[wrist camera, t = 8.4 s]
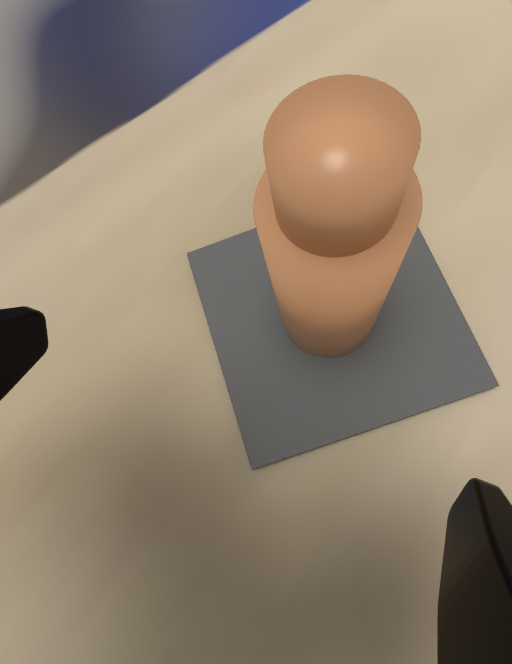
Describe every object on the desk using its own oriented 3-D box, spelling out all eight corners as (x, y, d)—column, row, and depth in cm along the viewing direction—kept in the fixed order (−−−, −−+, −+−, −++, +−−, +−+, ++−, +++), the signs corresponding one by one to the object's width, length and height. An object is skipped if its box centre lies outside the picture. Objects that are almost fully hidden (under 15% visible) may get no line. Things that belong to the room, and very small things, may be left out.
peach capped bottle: (370, 363, 20) (446, 238, 8) (276, 352, 21) (220, 223, 9) (378, 275, 21) (454, 53, 9) (288, 267, 22) (253, 54, 10)
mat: (494, 387, 19) (499, 385, 19) (253, 469, 20) (252, 469, 20) (391, 183, 23) (392, 177, 23) (189, 257, 24) (186, 253, 23)
